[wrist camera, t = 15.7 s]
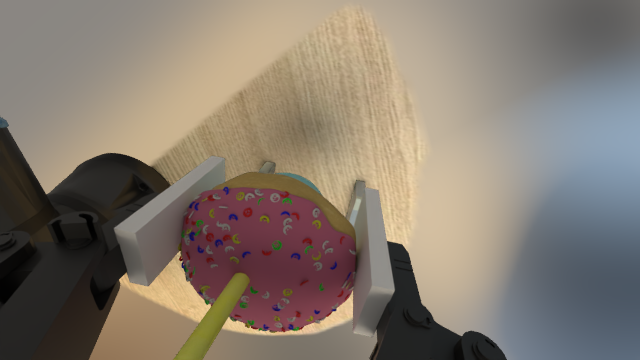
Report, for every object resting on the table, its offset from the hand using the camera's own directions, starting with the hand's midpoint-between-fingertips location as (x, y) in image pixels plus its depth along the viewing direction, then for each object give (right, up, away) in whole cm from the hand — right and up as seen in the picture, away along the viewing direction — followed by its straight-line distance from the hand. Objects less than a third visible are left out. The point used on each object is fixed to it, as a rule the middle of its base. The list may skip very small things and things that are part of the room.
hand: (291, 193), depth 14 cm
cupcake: (0, -1, +2) cm, 2 cm away
